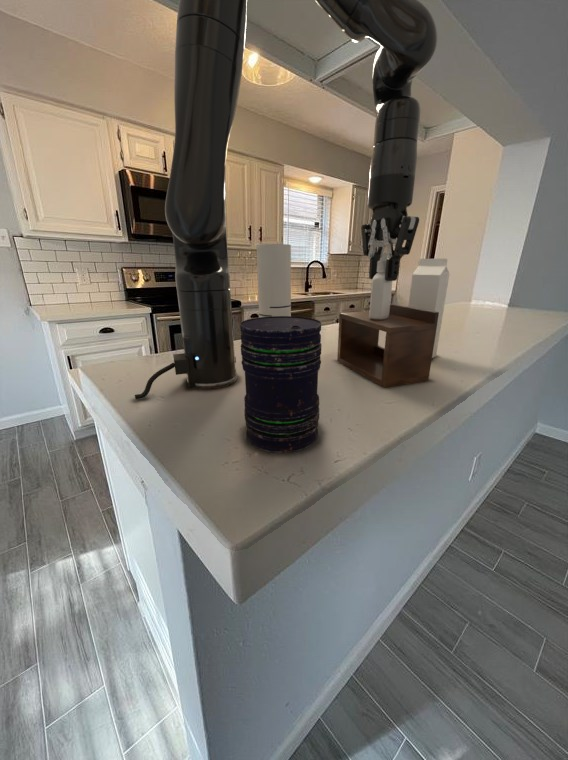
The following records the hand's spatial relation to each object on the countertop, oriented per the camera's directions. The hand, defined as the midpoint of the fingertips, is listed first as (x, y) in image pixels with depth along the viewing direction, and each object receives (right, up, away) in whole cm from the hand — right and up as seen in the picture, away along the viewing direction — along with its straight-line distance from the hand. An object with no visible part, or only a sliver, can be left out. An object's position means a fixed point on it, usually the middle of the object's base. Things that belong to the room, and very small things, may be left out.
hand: (382, 279), depth 62 cm
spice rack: (+1, -17, +7) cm, 18 cm away
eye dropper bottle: (0, -7, +3) cm, 8 cm away
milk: (+14, -14, +16) cm, 25 cm away
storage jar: (-19, -27, -18) cm, 37 cm away
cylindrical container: (-21, -15, +14) cm, 29 cm away
